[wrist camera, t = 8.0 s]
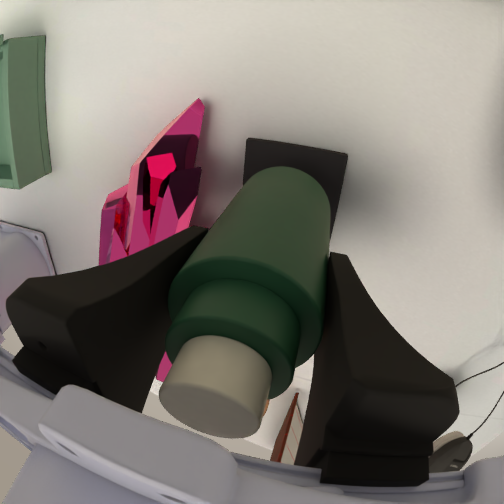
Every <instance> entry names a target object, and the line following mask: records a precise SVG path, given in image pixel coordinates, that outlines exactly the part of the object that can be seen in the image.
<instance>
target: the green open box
mask: <svg viewBox="0 0 504 504" xmlns="http://www.w3.org/2000/svg"><path fill="white" fill-rule="evenodd" d="M45 37H46V36H31V37H20V38H11V39H7V40H5V41H4V42H3V45H1V46H0V187H3V188H11V189H21V188H23V187H25V186H27V185H28V184H30V183H32V182H34V181H36V180H37V179H39V178H41V177H43V176H45V175H47V174H49V173H51V172H52V171H51V163H50V155H49V147H48V137H47V125H46V111H45V83H44V63H45Z"/></svg>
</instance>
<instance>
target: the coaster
mask: <svg viewBox="0 0 504 504" xmlns="http://www.w3.org/2000/svg"><path fill="white" fill-rule="evenodd" d="M347 158H348V155H347V154H345V153H340V152H335V151H330V150H325V149H319V148H314V147H308V146H302V145H296V144H290V143H283V142H277V141H270V140H263V139H255V138H248V139H247V140H246V151H245V164H244V177H243V186H244V184H245V183H246V182H247V181H248V180H249V179H250V178H251V177H252V176H253V175H255V174H256V173H258V172H260V171H262V170H264V169H267V168H271V167H280V166H283V167H291V168H295V169H298V170H301V171H303V172H305V173H307V174H308V175H310V176H311V177H313V178H314V179H315V180H316V181H317V182H318V183H319V184H320V185H321V186H322V188H323V189H324V191H325V193H326V195H327V197H328V200H329V204H330V239H331V234H332V230H333V226H334V221H335V217H336V212H337V208H338V203H339V198H340V194H341V189H342V184H343V179H344V174H345V169H346V164H347ZM329 243H330V241H329Z"/></svg>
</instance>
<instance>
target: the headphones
mask: <svg viewBox="0 0 504 504" xmlns="http://www.w3.org/2000/svg"><path fill="white" fill-rule="evenodd" d="M503 363H504V362H503ZM503 363H501V364H499V365H498V366H500V365H502V364H503ZM498 366H496V367H498ZM496 367H494V368H496ZM494 368H491V369H489V370H486V371H484V372H481V373H479V374H482V373H485V372H487V371H490V370H492V369H494ZM479 374H476V375H474V376H472V377H475V376H477V375H479ZM472 377H470V378H472ZM470 378H468V379H470ZM468 379H465V380H463V381H462V382H460V383H459V384H461V383H463V382H464V381H466V380H468ZM459 384H457V385H456V386H455V387H457V386H458V385H459ZM503 394H504V391H503V393H502V395H503ZM502 395H501V397H502ZM501 397H500V398H499V400H498V402H499V401H500V399H501ZM498 402H497V404H498ZM497 404H496V405H495V407H496V406H497ZM495 407H494V408H493V410H494V409H495ZM493 410H492V411H491V413H492V412H493ZM491 413H490V414H489V415H488V417H489V416H490V415H491ZM488 417H487V418H486V419H485V421H486V420H487V419H488ZM485 421H484V422H483V423H482V424H481V425H480V426H479V427H478V428H477V429H476V430H475V431H474V432H473V433H475V432H476V431H477V430H478V429H479V428H480V427H481V426H482V425H483V424H484V423H485ZM473 433H471V434H470V435H469V436H468V437H465V436H464V435H463V434H462V433H461V432H459V431H454V432H451V433H448V434H446V435H444V436H442V437H440V438H439V439H437V440H436V441H434V442H433V450H434V452H433V454H432V455H431V456H429V473H439V472H452V471H459V470H460V469H461V468H462V467H463V466H464V465H465V464H466V462H467V461H468V459H469V458H470V456H471V453H472V448H473V447H472V443H471V441H470V440H469V439H470V438H471V436H472V435H473Z"/></svg>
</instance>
